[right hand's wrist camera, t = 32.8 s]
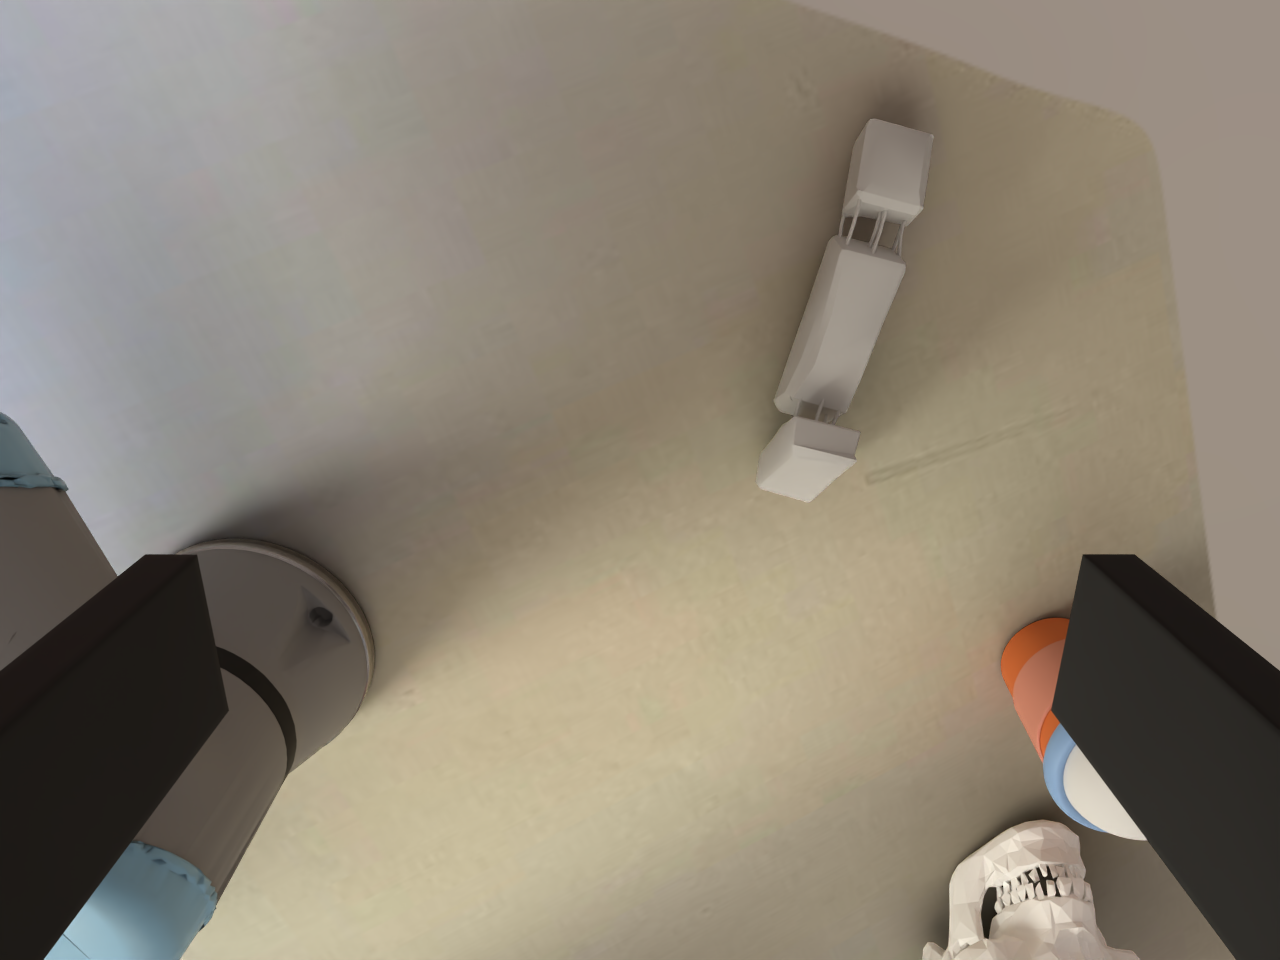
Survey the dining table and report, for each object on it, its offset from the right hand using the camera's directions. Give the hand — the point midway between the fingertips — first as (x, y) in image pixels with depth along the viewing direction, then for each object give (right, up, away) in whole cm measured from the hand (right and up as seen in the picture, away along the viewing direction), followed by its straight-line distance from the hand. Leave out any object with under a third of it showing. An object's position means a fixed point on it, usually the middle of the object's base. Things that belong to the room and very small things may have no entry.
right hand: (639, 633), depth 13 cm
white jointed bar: (+11, +11, +34) cm, 38 cm away
